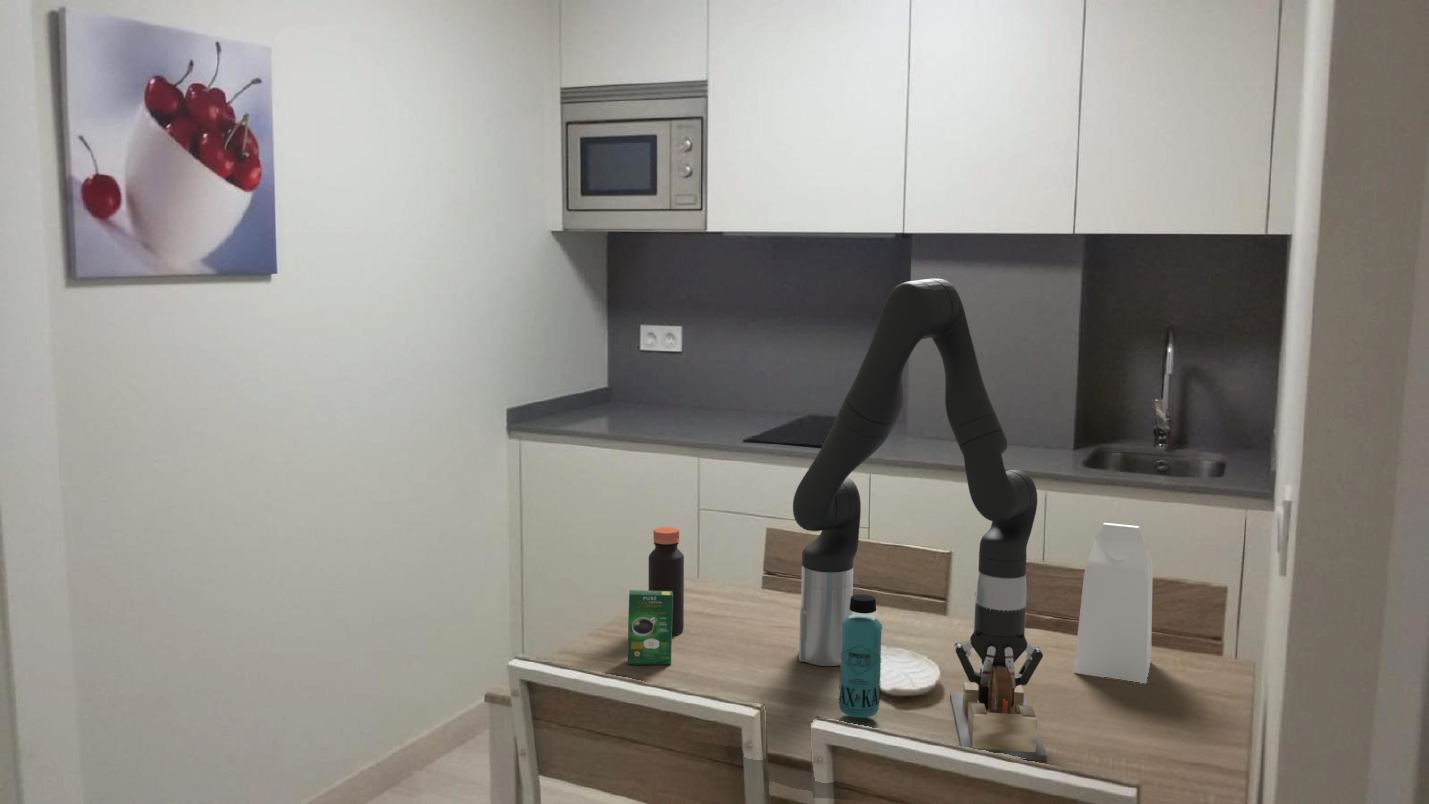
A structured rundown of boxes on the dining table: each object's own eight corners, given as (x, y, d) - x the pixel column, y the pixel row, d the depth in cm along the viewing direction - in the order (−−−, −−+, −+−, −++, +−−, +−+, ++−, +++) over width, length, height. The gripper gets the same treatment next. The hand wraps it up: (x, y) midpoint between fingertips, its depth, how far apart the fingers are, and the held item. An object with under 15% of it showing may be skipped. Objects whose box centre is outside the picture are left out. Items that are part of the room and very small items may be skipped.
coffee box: (672, 659, 201) (673, 589, 199) (672, 665, 198) (673, 594, 196) (627, 659, 200) (627, 589, 199) (627, 665, 198) (627, 594, 196)
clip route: (962, 755, 163) (964, 718, 163) (950, 696, 185) (951, 663, 184) (1046, 761, 162) (1048, 722, 161) (1024, 701, 183) (1025, 667, 183)
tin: (980, 696, 181) (980, 646, 180) (999, 696, 180) (1000, 646, 179) (993, 735, 166) (993, 681, 165) (1014, 736, 166) (1015, 681, 164)
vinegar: (690, 629, 217) (690, 529, 214) (670, 639, 211) (670, 536, 209) (661, 622, 221) (662, 524, 218) (641, 632, 215) (641, 531, 212)
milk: (1150, 662, 202) (1159, 522, 198) (1146, 684, 191) (1155, 536, 188) (1081, 651, 207) (1089, 514, 203) (1073, 672, 196) (1081, 528, 193)
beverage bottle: (834, 710, 179) (837, 590, 176) (875, 709, 179) (878, 589, 177) (842, 728, 172) (845, 603, 170) (884, 726, 173) (888, 602, 170)
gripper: (956, 606, 168) (951, 715, 170) (1051, 610, 166) (1045, 721, 168) (952, 591, 175) (947, 696, 178) (1043, 595, 174) (1037, 701, 176)
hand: (995, 707), depth 173 cm, fingers closed on tin, 2 cm apart
